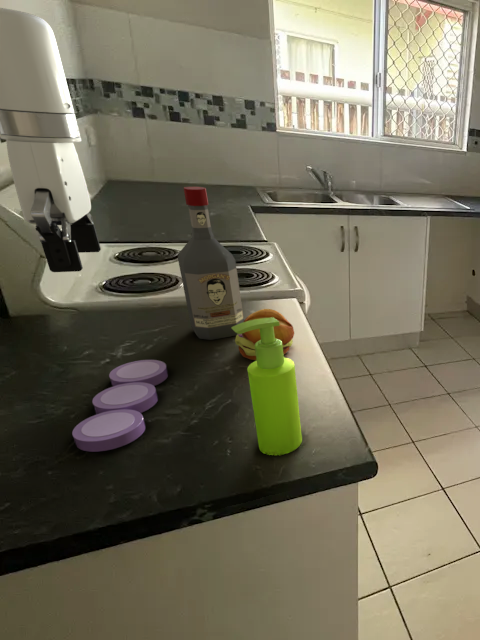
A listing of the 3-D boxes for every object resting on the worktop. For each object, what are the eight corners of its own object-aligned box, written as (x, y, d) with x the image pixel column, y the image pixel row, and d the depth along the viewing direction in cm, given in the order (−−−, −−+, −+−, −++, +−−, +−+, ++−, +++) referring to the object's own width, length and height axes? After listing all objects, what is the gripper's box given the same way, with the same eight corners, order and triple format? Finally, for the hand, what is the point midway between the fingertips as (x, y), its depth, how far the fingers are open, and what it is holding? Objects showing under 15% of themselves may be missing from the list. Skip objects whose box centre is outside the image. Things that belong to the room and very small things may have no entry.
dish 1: (66, 456, 64) (62, 445, 63) (86, 423, 71) (83, 413, 70) (138, 446, 67) (135, 435, 67) (151, 415, 74) (148, 405, 73)
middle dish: (87, 422, 71) (84, 411, 70) (104, 394, 78) (101, 385, 77) (151, 414, 74) (149, 404, 74) (162, 388, 81) (160, 379, 80)
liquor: (190, 327, 103) (161, 184, 91) (236, 319, 109) (215, 184, 97) (199, 342, 97) (170, 192, 85) (248, 333, 103) (227, 191, 91)
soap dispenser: (245, 443, 70) (225, 318, 62) (292, 427, 75) (279, 309, 66) (260, 464, 66) (240, 334, 58) (308, 445, 71) (297, 323, 63)
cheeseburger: (271, 335, 103) (274, 296, 98) (304, 360, 99) (308, 321, 94) (225, 350, 95) (226, 307, 90) (259, 378, 91) (261, 335, 86)
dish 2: (105, 393, 78) (102, 383, 77) (119, 371, 85) (116, 361, 84) (163, 387, 81) (160, 378, 80) (172, 366, 88) (170, 357, 87)
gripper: (24, 122, 64) (62, 246, 71) (-36, 128, 50) (17, 281, 57) (95, 126, 67) (124, 245, 74) (56, 133, 54) (96, 278, 61)
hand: (77, 260), depth 66 cm, fingers open, 9 cm apart
